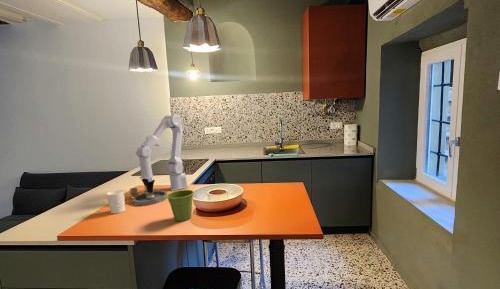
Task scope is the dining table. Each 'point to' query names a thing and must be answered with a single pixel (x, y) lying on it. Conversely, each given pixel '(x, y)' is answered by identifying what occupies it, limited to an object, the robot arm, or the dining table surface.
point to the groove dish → (148, 202)
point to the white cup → (116, 201)
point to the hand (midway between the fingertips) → (149, 191)
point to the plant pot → (181, 204)
